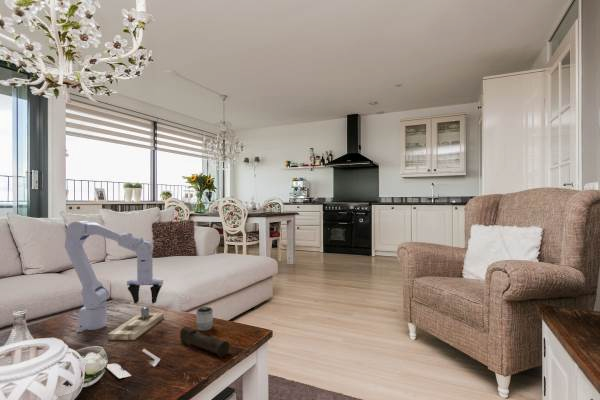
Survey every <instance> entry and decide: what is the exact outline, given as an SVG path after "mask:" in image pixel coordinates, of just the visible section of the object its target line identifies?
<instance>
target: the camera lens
mask: <svg viewBox="0 0 600 400" xmlns="http://www.w3.org/2000/svg"><path fill="white" fill-rule="evenodd" d="M213 310H214V309H213V308H211V307H207V306H203V307H200V308H197V310H196V312H195V313H196V316H195V317H196V327H197V329H196V330H198V331H201V332H202V331H209V330H211V329H212V328H213V323H214V322H213V321H214V320H213V319H214V314H213V312H214V311H213Z"/></svg>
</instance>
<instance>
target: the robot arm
mask: <svg viewBox="0 0 600 400" xmlns="http://www.w3.org/2000/svg"><path fill="white" fill-rule="evenodd" d="M64 233H65V242H64V248H65V250H66V252H67V255H68V257H69V259H70V262H71V263H72V266H73V268H74V270H75V272H76V273H75V274H76V275H77V277H78V279H79V282H80V283H81V286H82V290H81V296H82V305H83V306H82V307H81V308H80V309H79V311H78V314H77V330H76V332H77V333H82V332H83V331H85V330H89V331H90V330H91V331H92V330H94V331H95V330H99V329H102V328H104V327H106V326H107V325H108V324H107V323H108V320H107V319H108V312H107V311H108V310H107V307H108V305H107V300H108V298H109V296H110V292H109V290H108V289H107V288H106V287H105V286H104V285H103V283H102V282H100V280H98V278H97V276H96V273H95V271H94V269H93V267H92V264H91V262H90V261H89V258H88V255H87V254H86V251H85V249H84V246H83V245H84V243H85V241H86V240H87V238H88V237H90V236H93V235H94V236H95V235H98V236H101V237H103V238H106V239H109V240H111V241H115V242H117V245H118V246H119V247H121V248H124V249H127V250H130V251H131V252H135V254H136V255H137V256H136V257H137V259H136V260H137V261H136V267H137V268H136V269H137V270H136V271H137V277H136V278H137V279H128V280H126V286H128V287H127V290H128V291H129V293H130V295H131V297H132V299H133V303H134V304H137V303H139V301H140V297H139V296H140V288H141V286H150V288H149V289H150V293H151V304H155V303H157V300H158V295H159V293H160V290H161V288H162V286H163V285H164V280H163V279H154V277H153V273H154V271H153V250H154V248H155V246H154V243H153V242H152V241H151V240H149V239H144V238H143V237H138V236H135V235H134V234H133V233H132V232H128V233H127V232H124V233H120V232H117V231H115V230H113V229H111V228H109V227H106V226H104V225H102V224H100V223H98V222H95V221H91V220H89V219H84V220H82V221H73V222H71V223H69V224H68V226H67V227H66V228H65V230H64Z"/></svg>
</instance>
